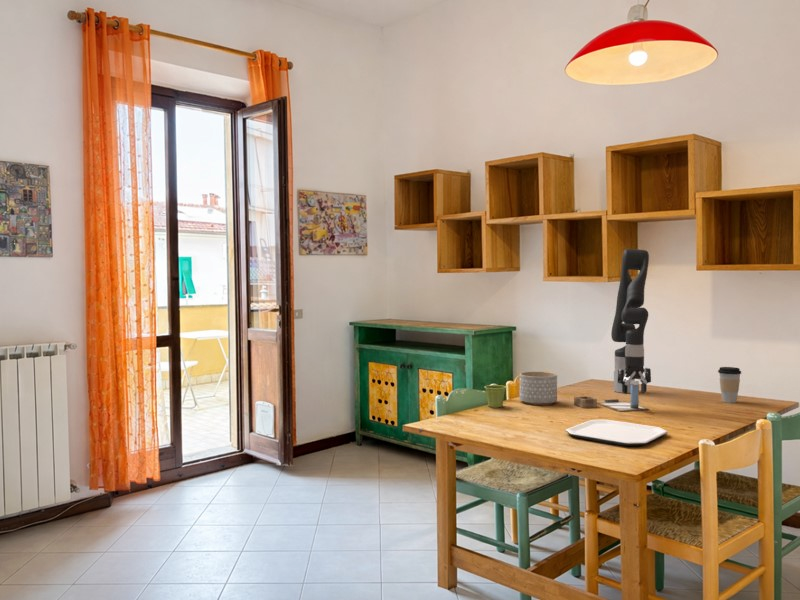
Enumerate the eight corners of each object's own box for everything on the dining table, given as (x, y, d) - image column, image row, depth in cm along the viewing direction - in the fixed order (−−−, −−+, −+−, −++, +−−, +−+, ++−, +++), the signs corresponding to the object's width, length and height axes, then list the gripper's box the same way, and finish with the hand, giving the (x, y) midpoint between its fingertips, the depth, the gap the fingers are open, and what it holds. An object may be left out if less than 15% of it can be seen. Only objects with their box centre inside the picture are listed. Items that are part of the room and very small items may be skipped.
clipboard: (596, 403, 289) (596, 400, 289) (624, 402, 292) (624, 398, 292) (619, 411, 271) (619, 408, 271) (649, 410, 274) (649, 406, 274)
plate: (672, 435, 233) (672, 428, 233) (640, 451, 211) (640, 444, 211) (595, 423, 252) (595, 417, 252) (559, 437, 230) (559, 431, 230)
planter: (561, 405, 285) (561, 376, 285) (523, 406, 285) (523, 377, 284) (552, 398, 301) (552, 371, 301) (516, 399, 301) (516, 371, 301)
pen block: (574, 404, 287) (574, 396, 287) (588, 404, 288) (588, 396, 288) (582, 407, 280) (582, 399, 280) (596, 407, 282) (596, 398, 281)
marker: (628, 407, 277) (628, 381, 277) (635, 407, 278) (635, 380, 278) (633, 408, 274) (633, 382, 274) (640, 408, 275) (640, 381, 274)
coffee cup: (744, 404, 286) (744, 369, 286) (721, 403, 288) (721, 369, 287) (736, 400, 296) (737, 366, 295) (714, 399, 297) (714, 366, 297)
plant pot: (482, 408, 281) (482, 387, 281) (486, 404, 290) (486, 384, 290) (504, 409, 278) (504, 388, 278) (507, 405, 287) (507, 385, 287)
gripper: (644, 353, 281) (644, 391, 281) (614, 354, 277) (614, 392, 278) (654, 355, 273) (654, 394, 274) (624, 356, 270) (624, 395, 271)
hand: (634, 393), depth 276 cm, fingers open, 8 cm apart
